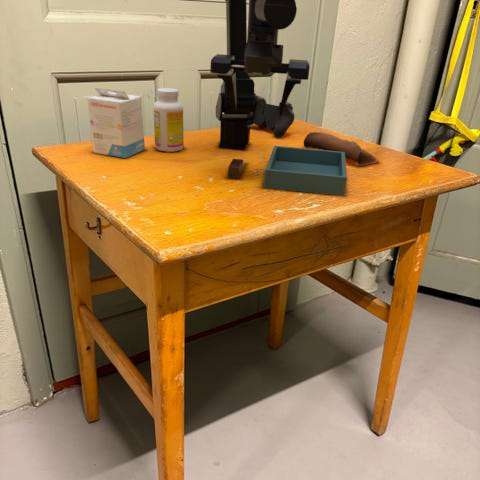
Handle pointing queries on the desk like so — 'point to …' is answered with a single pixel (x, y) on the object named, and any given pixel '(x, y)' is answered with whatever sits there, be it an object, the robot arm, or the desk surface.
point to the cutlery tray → (306, 170)
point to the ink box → (116, 123)
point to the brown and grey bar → (235, 168)
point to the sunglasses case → (339, 147)
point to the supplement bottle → (168, 121)
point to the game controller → (273, 117)
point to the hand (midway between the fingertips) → (257, 114)
